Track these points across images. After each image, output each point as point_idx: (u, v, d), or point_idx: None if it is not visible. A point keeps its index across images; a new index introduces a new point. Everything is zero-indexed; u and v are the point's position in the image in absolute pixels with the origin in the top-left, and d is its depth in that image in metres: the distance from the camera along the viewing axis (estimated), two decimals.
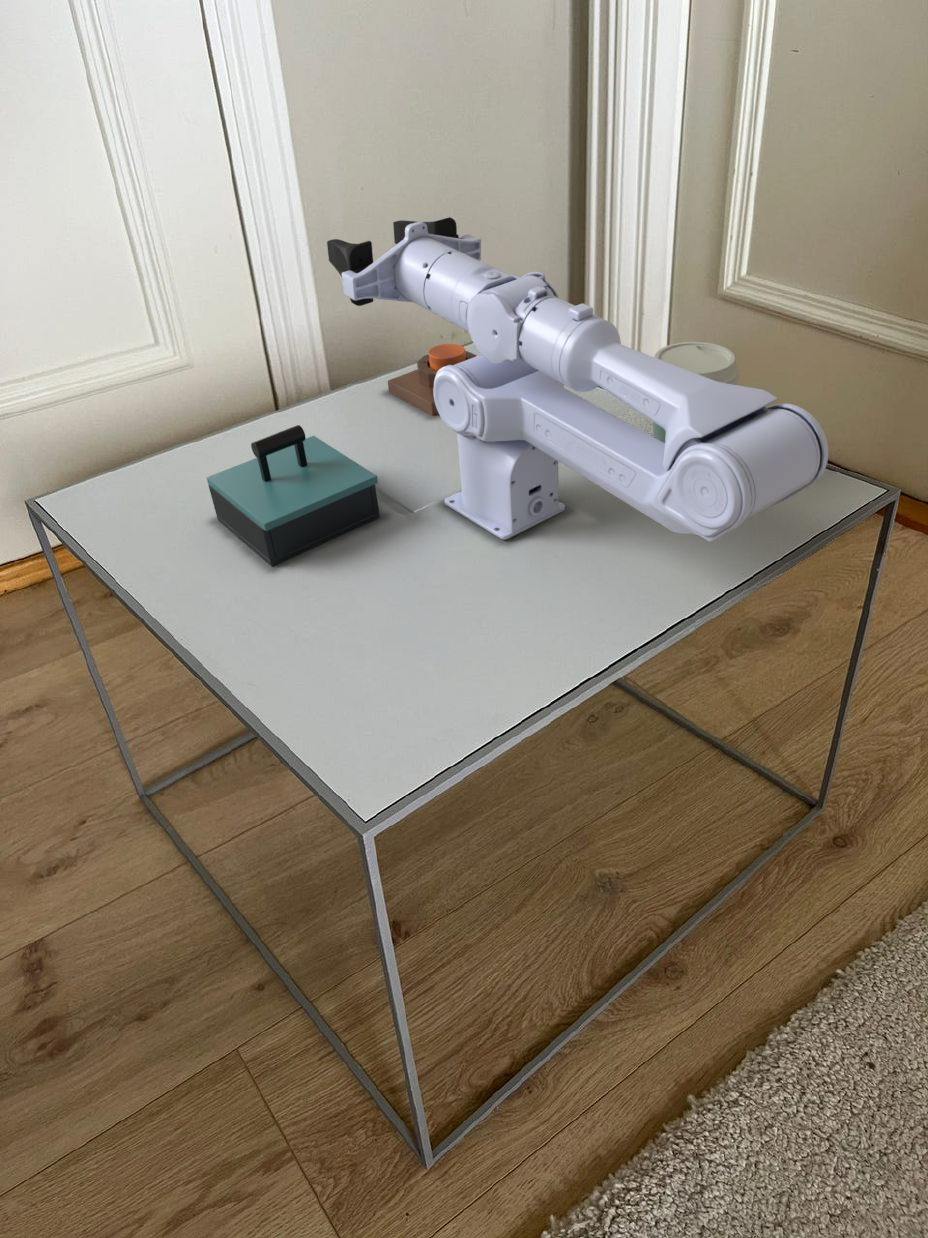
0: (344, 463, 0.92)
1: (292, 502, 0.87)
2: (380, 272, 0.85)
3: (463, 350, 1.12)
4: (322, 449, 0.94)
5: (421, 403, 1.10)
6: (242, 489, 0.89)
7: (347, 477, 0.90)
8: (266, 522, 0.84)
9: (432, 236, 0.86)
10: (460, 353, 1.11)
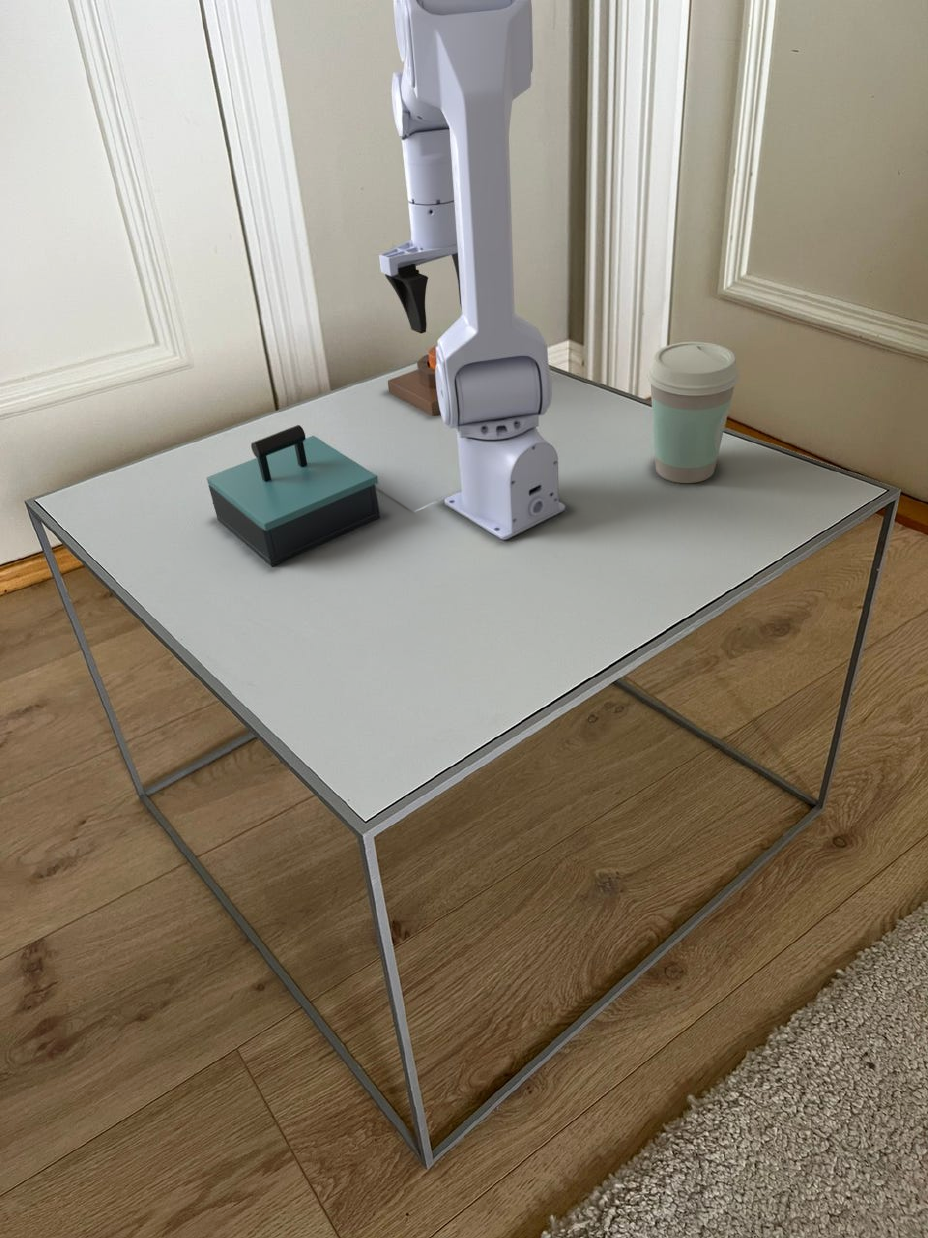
0: (344, 463, 0.92)
1: (292, 502, 0.87)
2: None
3: None
4: (322, 449, 0.94)
5: (421, 403, 1.10)
6: (242, 489, 0.89)
7: (347, 477, 0.90)
8: (266, 522, 0.84)
9: None
10: None
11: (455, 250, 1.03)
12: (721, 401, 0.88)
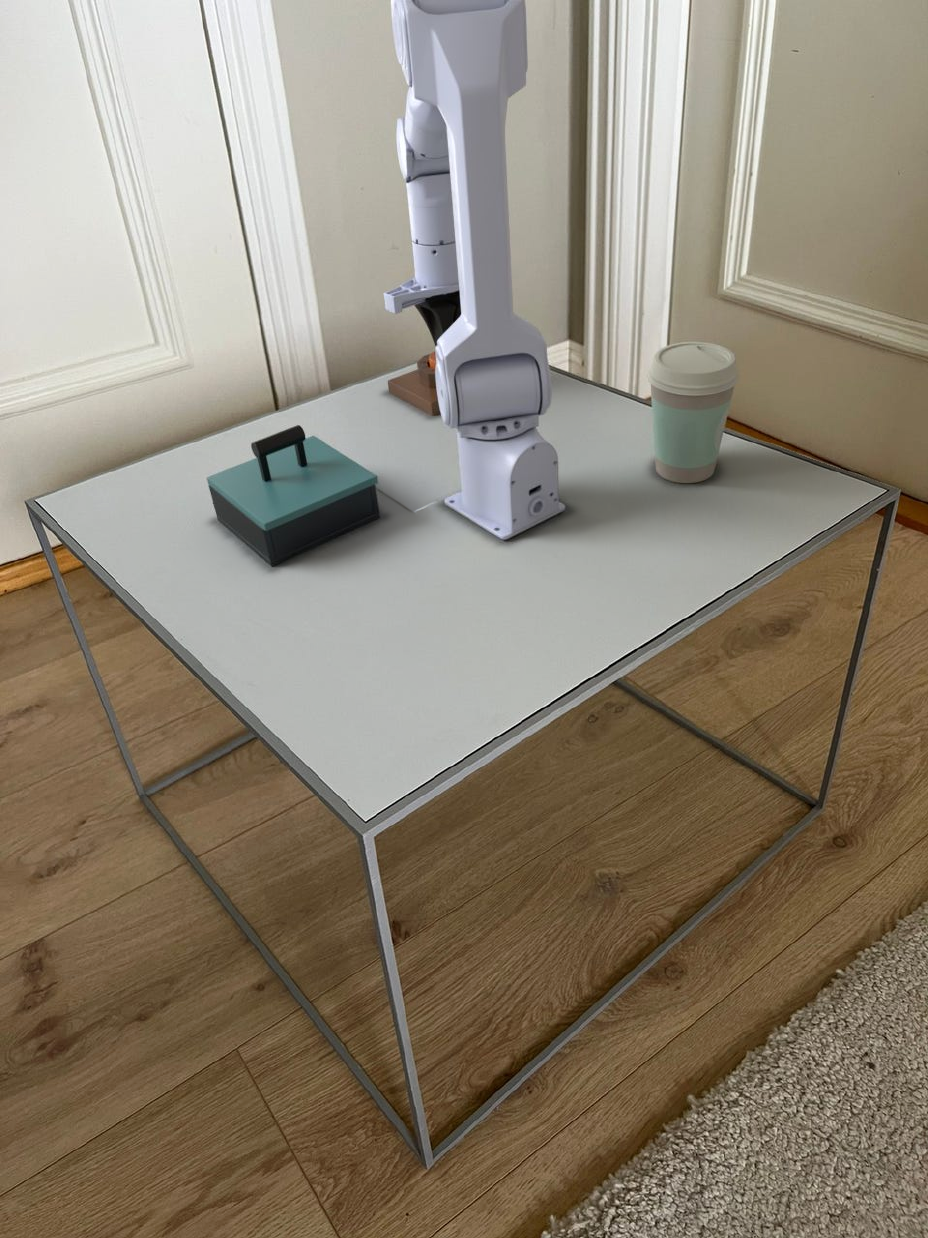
0: (344, 463, 0.92)
1: (292, 502, 0.87)
2: None
3: None
4: (322, 449, 0.94)
5: (421, 403, 1.10)
6: (242, 489, 0.89)
7: (347, 477, 0.90)
8: (266, 522, 0.84)
9: None
10: None
11: (458, 288, 1.05)
12: (721, 401, 0.88)
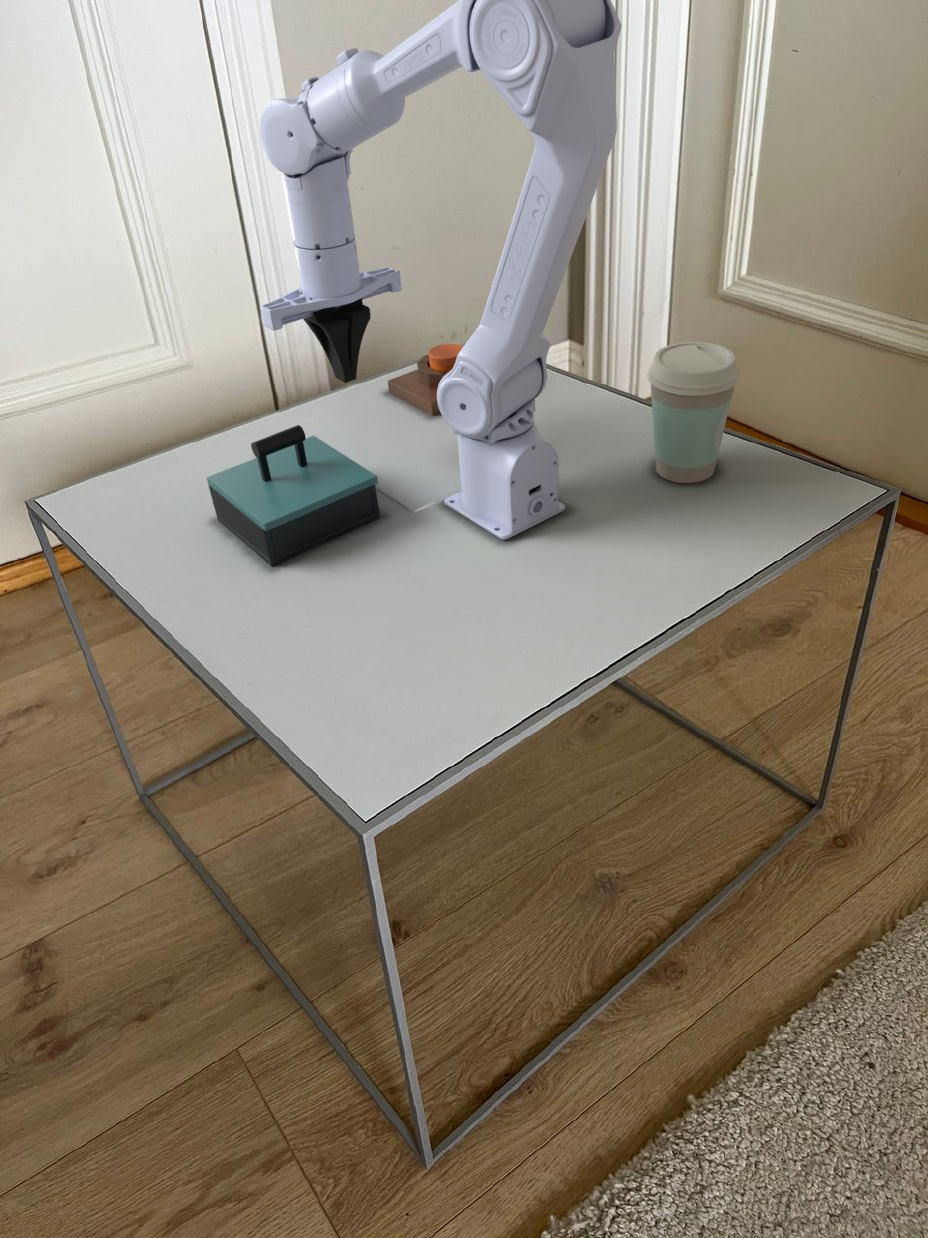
0: (344, 463, 0.92)
1: (292, 502, 0.87)
2: None
3: None
4: (322, 449, 0.94)
5: (421, 403, 1.10)
6: (242, 489, 0.89)
7: (347, 477, 0.90)
8: (266, 522, 0.84)
9: None
10: None
11: (350, 300, 0.89)
12: (721, 401, 0.88)
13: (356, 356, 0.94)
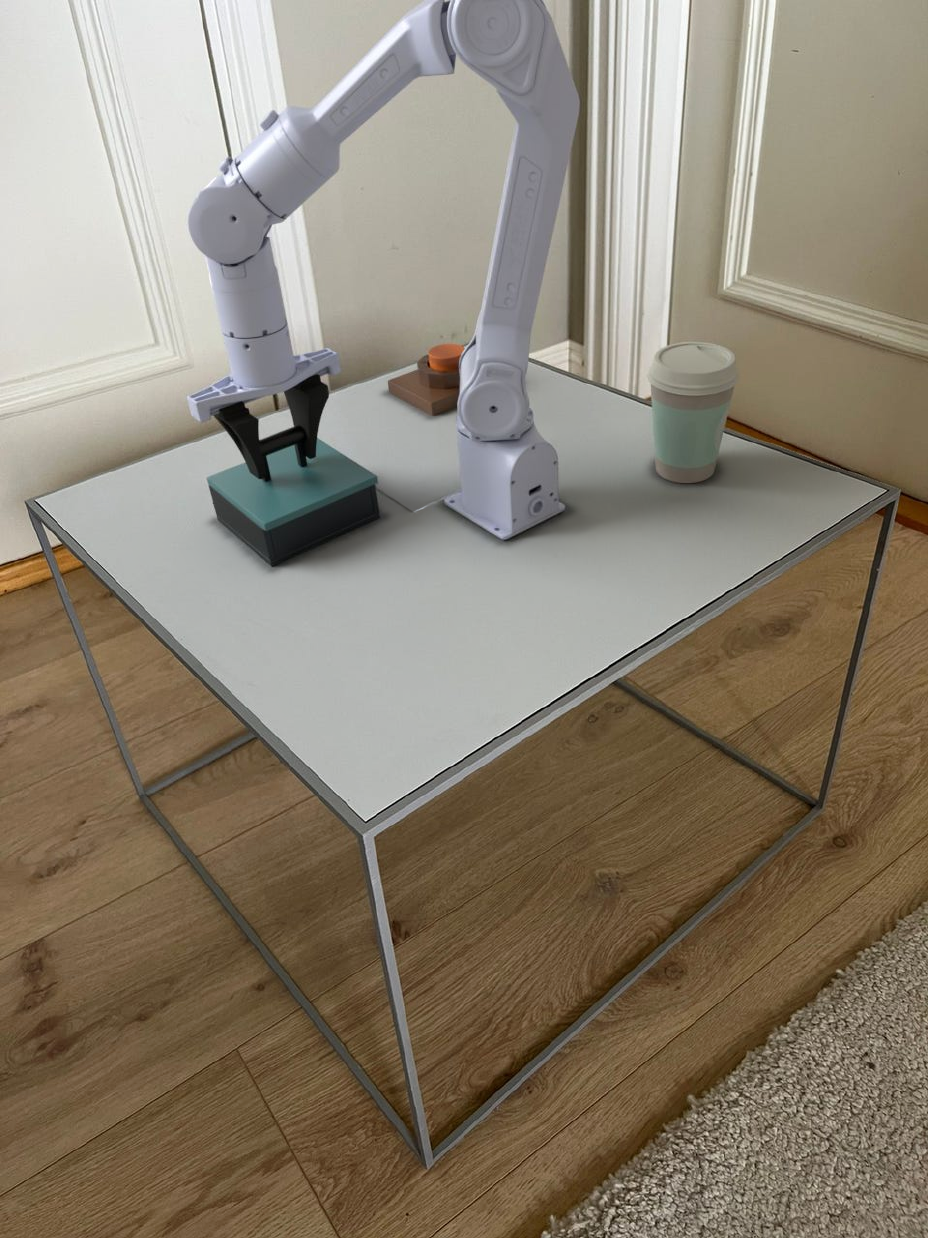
0: (344, 463, 0.92)
1: (292, 502, 0.87)
2: None
3: (463, 350, 1.12)
4: (322, 449, 0.94)
5: (421, 403, 1.10)
6: (242, 489, 0.89)
7: (347, 477, 0.90)
8: (266, 522, 0.84)
9: None
10: (460, 353, 1.11)
11: (283, 389, 0.83)
12: (721, 401, 0.88)
13: (315, 434, 0.90)
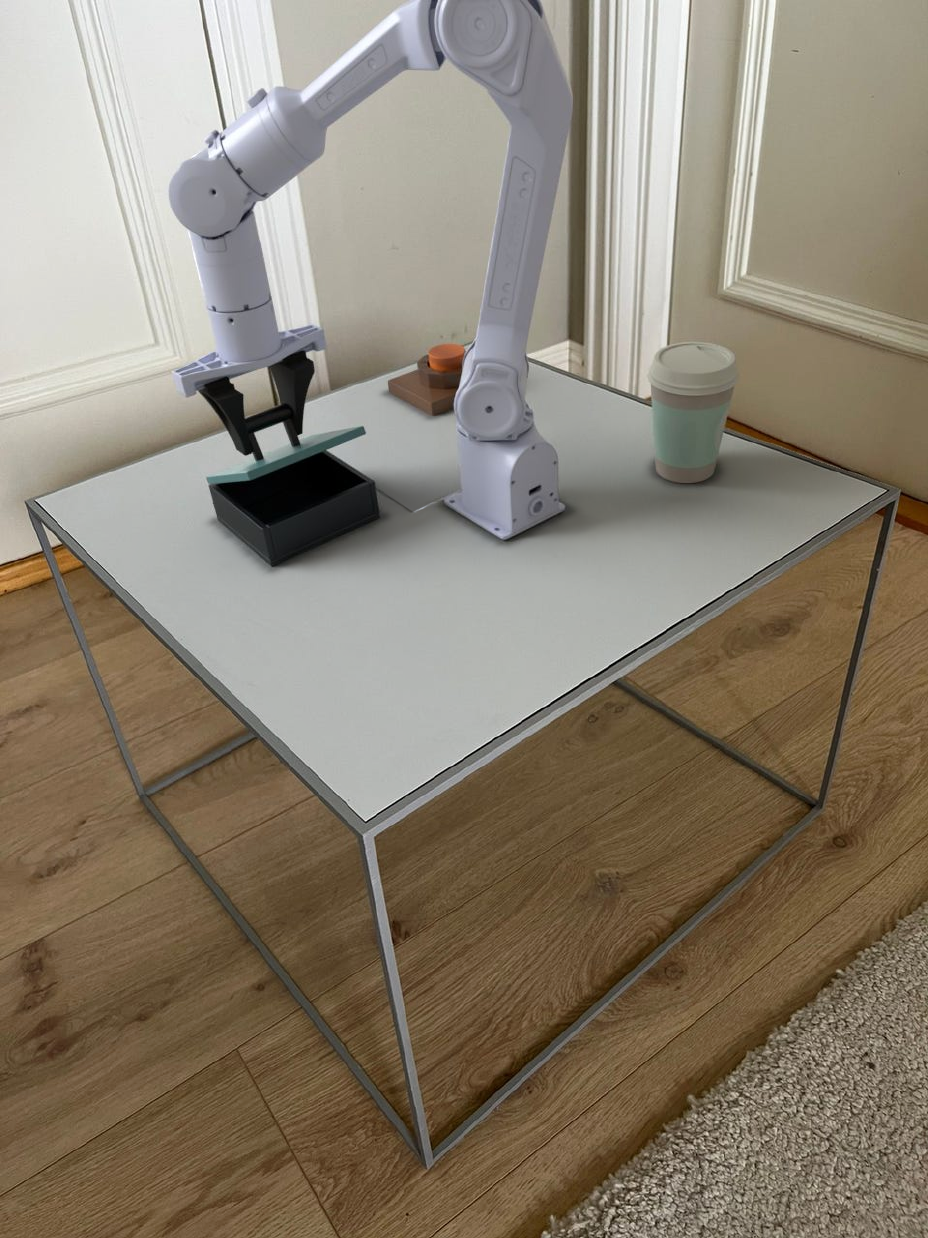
0: (335, 432, 0.91)
1: (278, 457, 0.85)
2: None
3: (463, 350, 1.12)
4: (317, 435, 0.94)
5: (421, 403, 1.10)
6: (235, 469, 0.88)
7: (335, 435, 0.88)
8: (249, 470, 0.82)
9: None
10: (460, 353, 1.11)
11: (268, 364, 0.84)
12: (721, 401, 0.88)
13: (301, 411, 0.90)
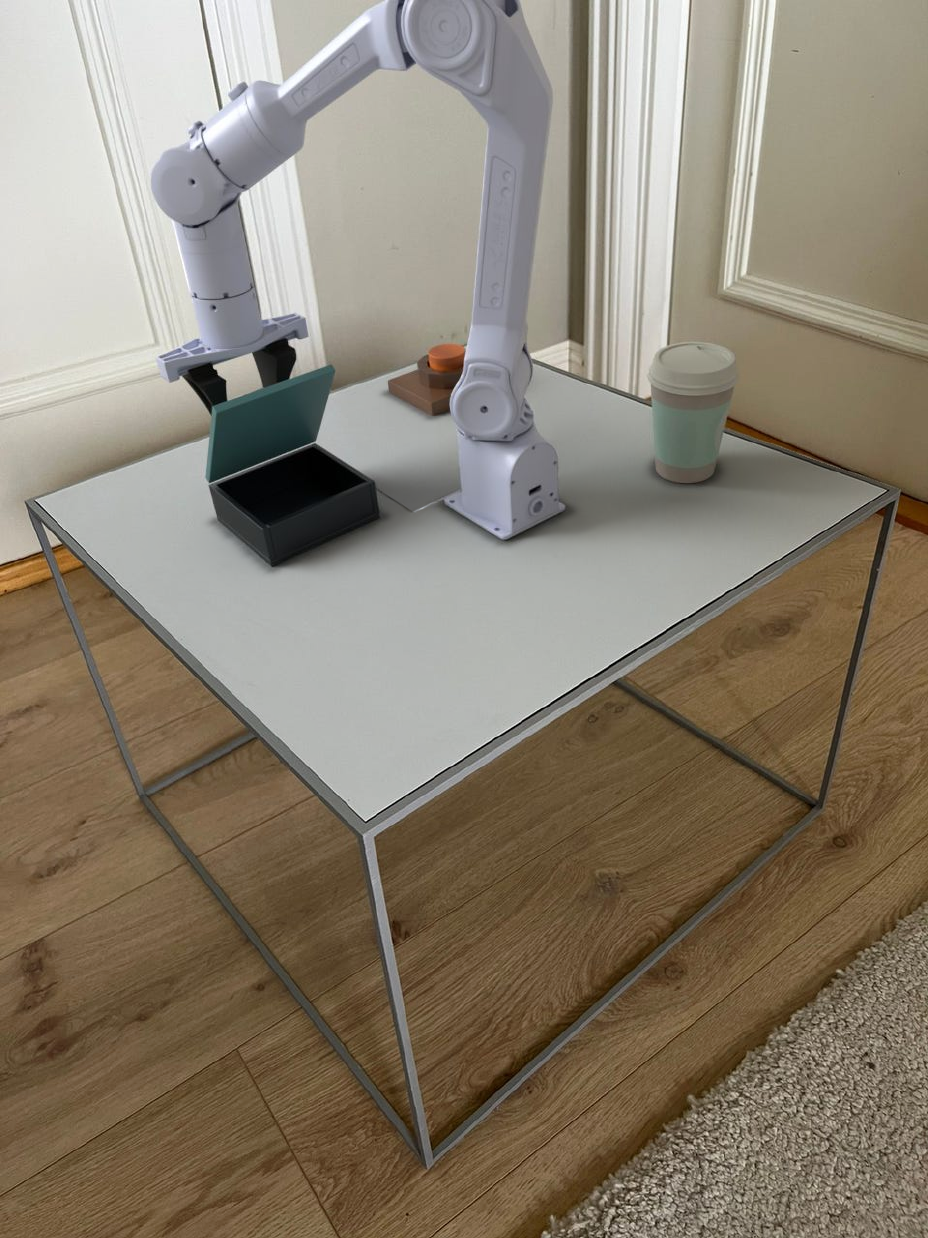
0: None
1: None
2: None
3: (463, 350, 1.12)
4: None
5: (421, 403, 1.10)
6: None
7: None
8: (215, 405, 0.82)
9: None
10: (460, 353, 1.11)
11: (250, 350, 0.86)
12: (721, 401, 0.88)
13: None
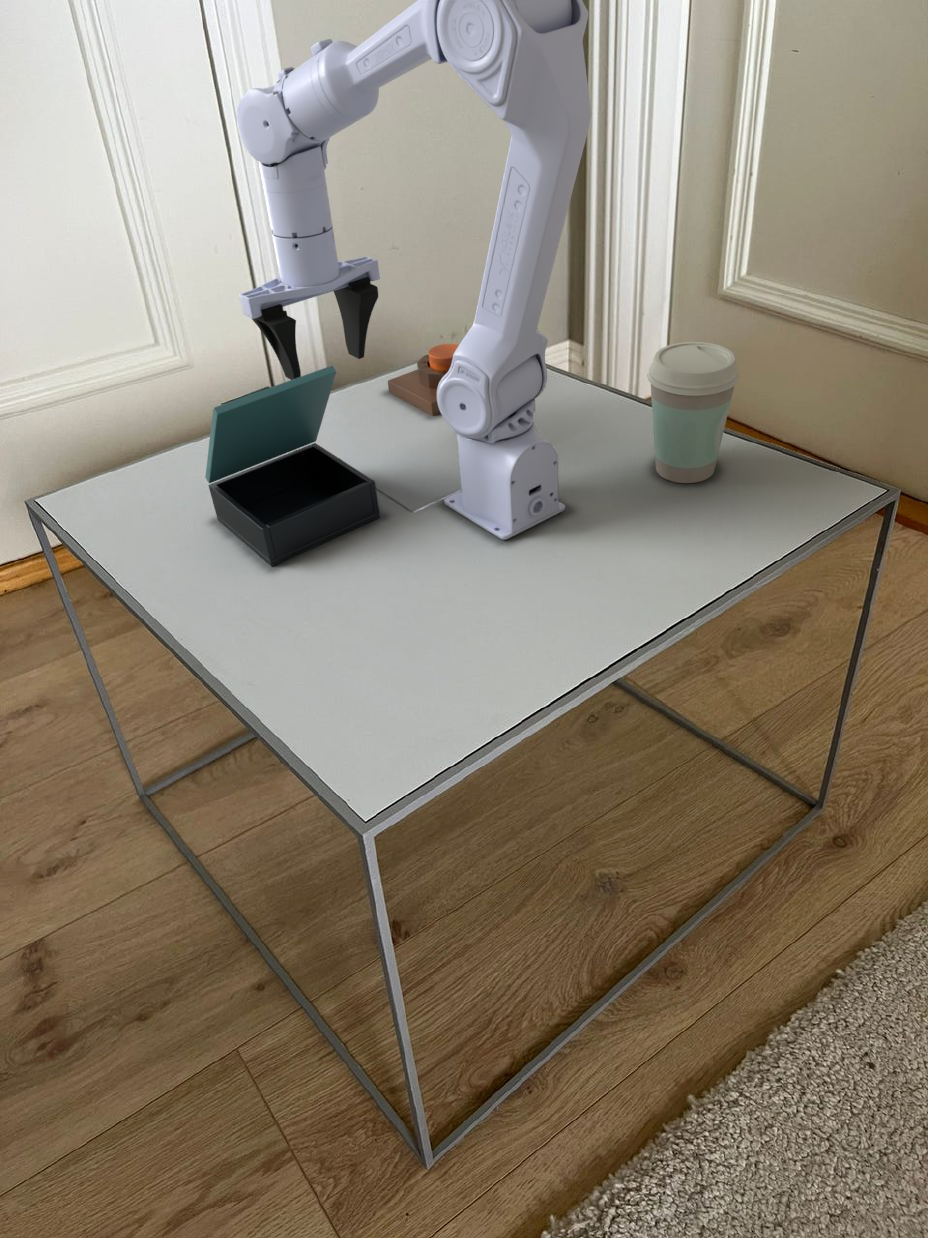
0: None
1: None
2: None
3: None
4: None
5: (421, 403, 1.10)
6: None
7: None
8: (215, 407, 0.82)
9: None
10: None
11: (328, 289, 0.90)
12: (721, 401, 0.88)
13: (364, 334, 0.96)
